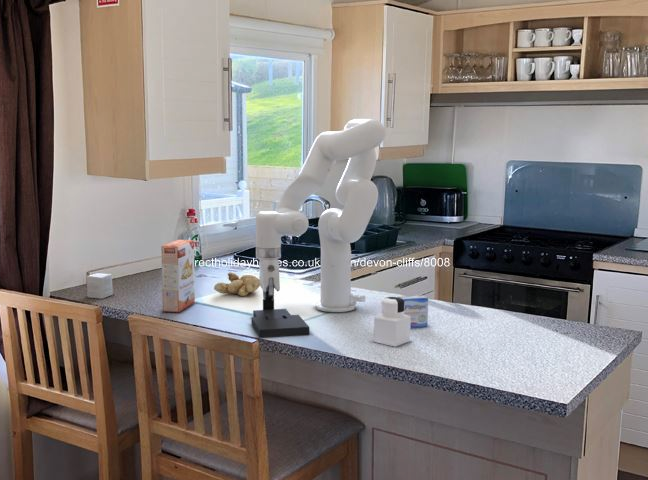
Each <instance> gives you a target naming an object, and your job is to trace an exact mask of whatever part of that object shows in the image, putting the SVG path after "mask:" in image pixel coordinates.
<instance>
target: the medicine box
mask: <svg viewBox="0 0 648 480" xmlns="http://www.w3.org/2000/svg"><path fill="white" fill-rule="evenodd" d="M398 297H399V298H401V299H403V300H404V315H409V316H411V324H410V329H413V328H415V329H417V328H426V327H428V323H429V320H428V319H429V316H428V315H429V298H428V297H427V296H426V295H424V294H421V295H419V294H418V295H403V296H398Z"/></svg>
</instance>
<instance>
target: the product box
mask: <svg viewBox="0 0 648 480" xmlns="http://www.w3.org/2000/svg"><path fill="white" fill-rule="evenodd" d="M86 294H87V298H90V299H99V300H100V299H102V300H103V299H105V298H109V297H111V296H113V295H114V291H113V275H112V273H100V272H96V273H93V274H90V275H86Z"/></svg>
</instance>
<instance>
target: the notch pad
mask: <svg viewBox="0 0 648 480" xmlns="http://www.w3.org/2000/svg"><path fill="white" fill-rule="evenodd" d="M251 326H252V328H253V329H254V331H255V333H256V334H257V336H258V338H260V339H261V338H272V337H273V338H276V337H290V336H294V337H295V336H308V335H310V326H309V325H308V323H307V322H306V321H305V320H304V319H303V318H302V317H301V316H300V314H291V315H285V319H269V320H267V319H266V317H253V316H252V317H251Z"/></svg>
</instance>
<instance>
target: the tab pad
mask: <svg viewBox="0 0 648 480" xmlns="http://www.w3.org/2000/svg"><path fill="white" fill-rule="evenodd" d="M285 315H292V314H291V313H290V312H289V311H288V310H287V308H277V309H276V308H274V309H272V310H263V309H256V310H255V309H254V310H253V311H252V317H266V319H267V320H269V319H285Z"/></svg>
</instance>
